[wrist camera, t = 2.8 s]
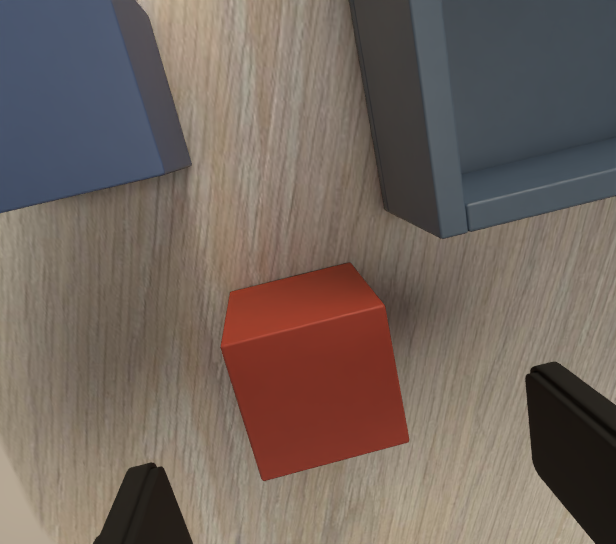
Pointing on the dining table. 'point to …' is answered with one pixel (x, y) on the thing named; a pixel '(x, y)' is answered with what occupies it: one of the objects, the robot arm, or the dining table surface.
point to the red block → (313, 370)
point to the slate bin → (489, 107)
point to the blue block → (81, 100)
